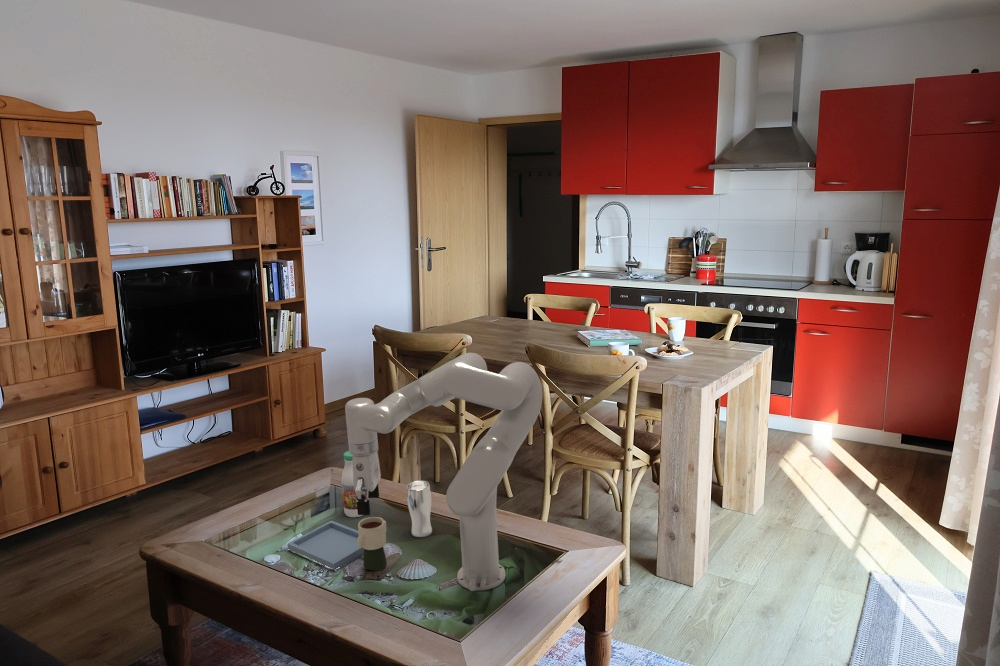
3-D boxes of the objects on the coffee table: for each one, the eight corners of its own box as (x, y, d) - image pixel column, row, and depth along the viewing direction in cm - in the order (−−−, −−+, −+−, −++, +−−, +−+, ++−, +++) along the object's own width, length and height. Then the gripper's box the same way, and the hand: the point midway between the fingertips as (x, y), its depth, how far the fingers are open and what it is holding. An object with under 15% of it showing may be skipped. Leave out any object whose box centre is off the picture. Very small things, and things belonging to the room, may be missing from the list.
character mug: (378, 553, 204) (374, 511, 201) (398, 560, 200) (394, 517, 197) (351, 572, 195) (346, 528, 192) (371, 579, 191) (367, 534, 188)
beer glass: (432, 537, 211) (428, 490, 208) (408, 538, 212) (404, 490, 208) (434, 526, 218) (431, 479, 215) (411, 526, 218) (407, 480, 215)
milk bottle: (343, 509, 232) (337, 450, 227) (367, 504, 234) (361, 446, 229) (345, 519, 225) (339, 459, 220) (370, 515, 227) (365, 455, 222)
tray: (378, 545, 208) (377, 538, 208) (334, 571, 196) (333, 563, 195) (332, 527, 220) (331, 520, 220) (288, 551, 208) (287, 543, 207)
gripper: (369, 458, 181) (374, 521, 185) (385, 433, 198) (389, 491, 202) (339, 459, 182) (345, 521, 186) (358, 433, 198) (363, 491, 202)
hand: (368, 505), depth 194 cm, fingers open, 9 cm apart
